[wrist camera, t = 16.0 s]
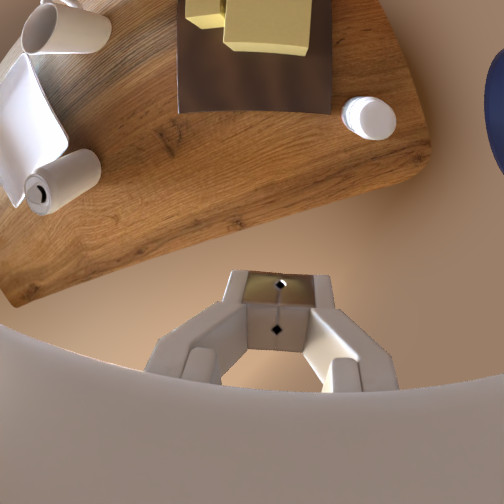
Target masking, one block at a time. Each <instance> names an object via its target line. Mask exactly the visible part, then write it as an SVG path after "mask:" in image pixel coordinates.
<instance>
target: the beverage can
mask: <svg viewBox="0 0 504 504" xmlns="http://www.w3.org/2000/svg"><path fill="white" fill-rule="evenodd" d="M100 176H101V165H100V161H99V159H98V157H97V156H96V155H95V153H93V152H92V151H91V150H88V149H80V150H77V151H75V152H72V153H70V154H68V155H65V156H63V157H61V158H58V159H56V160H54V161H51V162H49V163H47V164H45V165H43V166H41V167H39V168H36V169H35V170H34V171H33V172H32V173H31V175H29V176H28V177H27V178H26V180H25V184H24V195H25V198H26V201H27V204H28V205H29V207H30V208H31V210H32V211H33V212H35V213H36V214H38V215H46V214H51V213H53V212H55V211H56V210H58V209H59V208H61V207H62V206H64V205H65V204H67V203H68V202H70V201H71V200H73V199H74V198H76V197H78V196H79V195H81V194H82V193H84V192H85V191H87V190H89V189H90V188H92V187H94V186H95V185H96V184H97V183H98V181H99V179H100Z"/></svg>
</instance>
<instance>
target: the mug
mask: <svg viewBox="0 0 504 504" xmlns="http://www.w3.org/2000/svg"><path fill="white" fill-rule="evenodd" d="M61 1H64V2H65V3H67V4H68V5H69V6H67V5H62V4H58V3H52V2H53V0H41V5H40V6H38V7H37V8H36V9H35V10H34V11H33V12H32V13H31V15H30V16H29V18H28V19H27V21H26V23H25V26H24V28H23V31H22V37H21V44H22V48H23V50H24V51H25V53H27V54H30V55H33V54H57V53H79V54H89V53H94V52H97V51H98V50H100V49H101V48H102V47H103V46H104V45H105V44H106V43H107V41H108V39H109V37H110V35H111V30H112V26H111V22H110V20H109V19H108V18H107V17H105V16H102V15H100V14H97V13H93V12H90V11H86V10H83V5H82V3H80V2H79V1H77V0H61Z"/></svg>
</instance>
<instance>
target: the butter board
mask: <svg viewBox="0 0 504 504" xmlns="http://www.w3.org/2000/svg"><path fill="white" fill-rule="evenodd" d="M185 6H186V0H178V4H177V91H178V113H179V114H181V113H195V112H213V111H284V112H303V113H317V114H328V115H331V95H332V9H331V0H312V8H311V23H310V37H309V48H308V50H307V53H306V55H305V56H299V55H290V54H279V53H267V52H247V51H233V50H232V49H231V48H230V47H228V46H227V45H226V44H225V43H223V37H224V27H219V28H209V29H201V28H199V27H198V26H196V25H195V24H194V23H192V22H191V21H189V20H187V19H186V18H185Z"/></svg>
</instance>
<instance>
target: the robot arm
mask: <svg viewBox="0 0 504 504" xmlns="http://www.w3.org/2000/svg"><path fill="white" fill-rule="evenodd" d="M275 347H276V348H275ZM247 349H258V350H276V351H288V352H302V353H303V355H304V356H305V358H306V359H307V361H308V362H309V364H310V365H311V367H312V368H313V370H314V371H315V373H316V374H317V375H318V377H319V379H320V380H321V381H322V383H323V388H322V391H321V393H315V392H314V393H313V392H288V391H272V390H260V389H249V388H239V387H231V386H223V385H222V383H221V377H222V376H223V375H224V374H225V373H226V372H227V371H228V370H229V369H230V368H231V367H232V366H233V365H234V364H235V363H236V362H237V361H238V359H240V358H241V356H242V355H243V354H244V353H245V352H246V351H247ZM0 504H504V373H503V374H499V375H495V376H490V377H486V378H481V379H476V380H471V381H465V382H460V383H454V384H448V385H440V386H433V387H425V388H416V389H406V390H399V385H398V382H397V377H396V373H395V369H394V365H393V361H392V357H391V355H390V354H388V353H387V352H386V351H385V350H384V349H383V348H382V347H381V346H380V345H379V344H378V343H376V342H375V341H374V340H373V339H372V338H371V337H370V336H369V335H368V334H367V333H366V332H365V331H363V330H362V329H361V328H360V327H359V326H358V325H357V324H356V323H355V322H354V321H352V320H351V319H350V318H349V317H348V316H347V315H346V314H345V313H344V312H342V311H341V310H340V309H335V303H334V297H333V292H332V285H331V280H330V276H329V275H301V274H300V275H299V274H281V273H272V272H260V271H248V270H233V271H232V272H231V274H230V278H229V281H228V284H227V287H226V290H225V293H224V297H223V300H222V302H220V301H217V302H215V303H214V304H212V305H211V306H209V307H208V308H206V309H205V310H203V311H202V312H200V313H199V314H197V315H196V316H194V317H193V318H191V319H190V320H188V321H187V322H185V323H183V324H182V325H180V326H179V327H177V328H176V329H174V330H173V331H171V332H169V333H168V334H167V335H165V336H163V337H162V338H160V339H159V340H158V342H157V343H156V346H155V348H154V350H153V352H152V354H151V356H150V358H149V361H148V363H147V365H146V367H145V369H144V371H139V370H135V369H131V368H127V367H123V366H119V365H115V364H111V363H108V362H104V361H101V360H97V359H93V358H90V357H87V356H84V355H81V354H77V353H74V352H71V351H68V350H65V349H62V348H59V347H57V346H54V345H51V344H48V343H45V342H43V341H40V340H37V339H35V338H32V337H30V336H27V335H25V334H22V333H20V332H17V331H15V330H13V329H10V328H8V327H6V326H4V325H2V324H0Z"/></svg>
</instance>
